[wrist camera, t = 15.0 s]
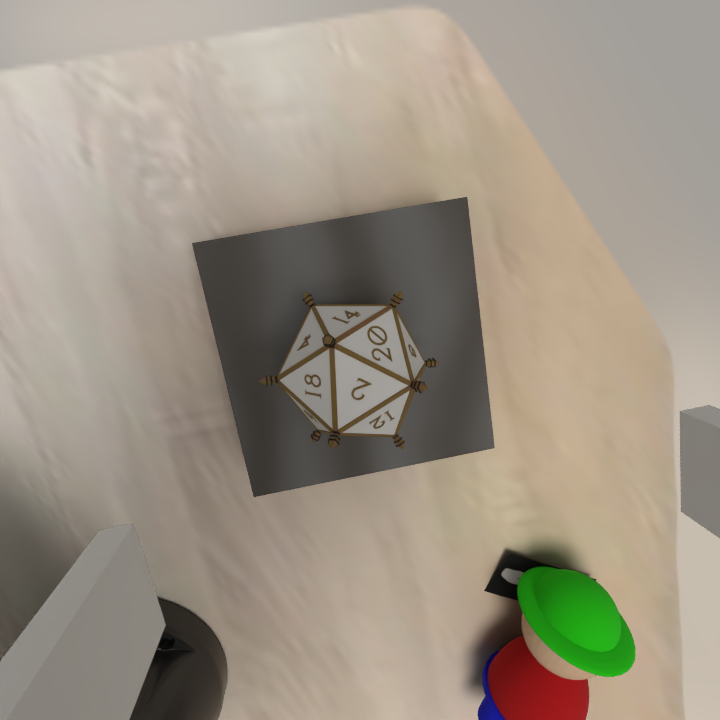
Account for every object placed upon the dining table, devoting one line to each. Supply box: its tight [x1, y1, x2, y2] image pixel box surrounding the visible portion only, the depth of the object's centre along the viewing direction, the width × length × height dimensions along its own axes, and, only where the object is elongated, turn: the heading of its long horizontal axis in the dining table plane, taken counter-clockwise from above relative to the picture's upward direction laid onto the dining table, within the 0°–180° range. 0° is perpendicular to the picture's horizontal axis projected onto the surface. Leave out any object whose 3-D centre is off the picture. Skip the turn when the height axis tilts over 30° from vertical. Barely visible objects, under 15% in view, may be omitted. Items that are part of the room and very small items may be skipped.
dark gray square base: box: [192, 197, 494, 497], centre depth 32 cm, size 16×16×5 cm
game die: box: [258, 290, 440, 450], centre depth 25 cm, size 9×8×10 cm
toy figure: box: [478, 553, 635, 720], centre depth 38 cm, size 9×10×15 cm
